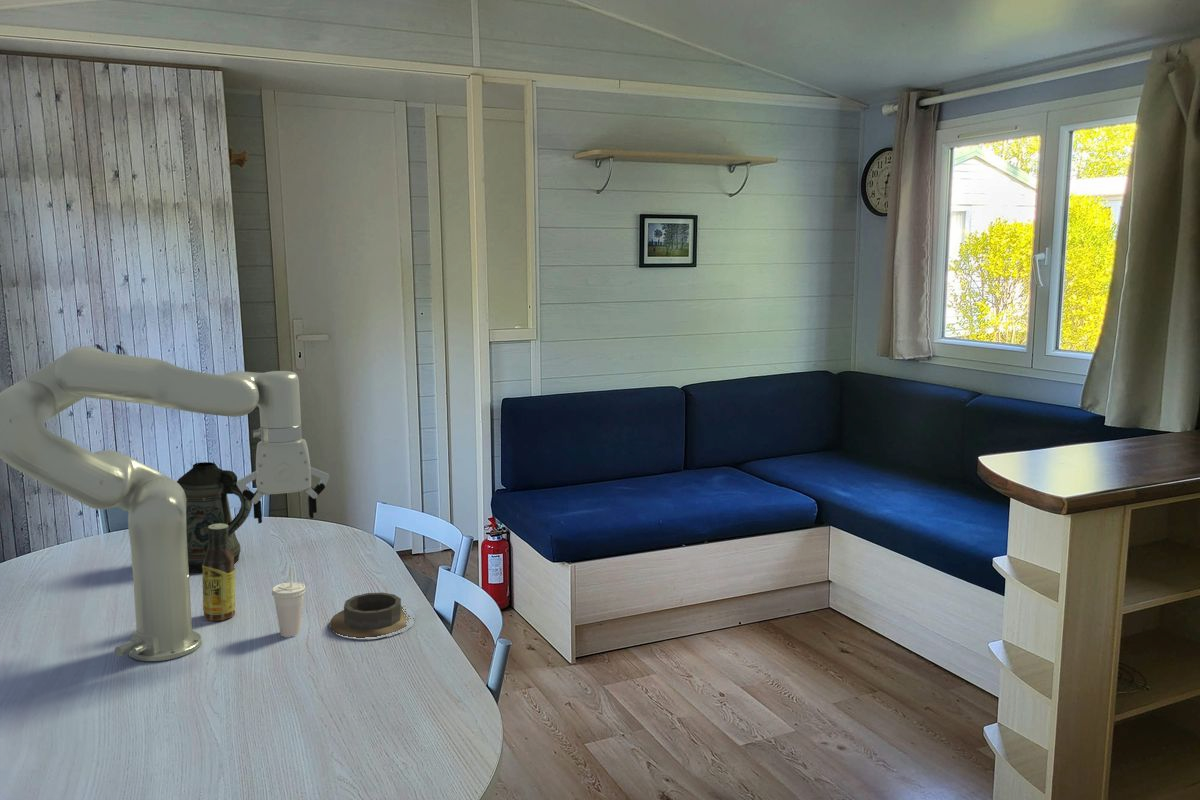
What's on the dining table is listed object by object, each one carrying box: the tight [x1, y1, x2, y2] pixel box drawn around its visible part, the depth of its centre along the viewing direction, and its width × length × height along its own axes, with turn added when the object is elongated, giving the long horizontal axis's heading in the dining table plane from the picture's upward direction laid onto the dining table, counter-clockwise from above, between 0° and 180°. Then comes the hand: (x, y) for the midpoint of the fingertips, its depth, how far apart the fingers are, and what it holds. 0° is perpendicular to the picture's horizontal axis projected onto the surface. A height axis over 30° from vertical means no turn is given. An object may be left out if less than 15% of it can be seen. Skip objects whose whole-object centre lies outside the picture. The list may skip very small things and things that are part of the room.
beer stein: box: [176, 461, 253, 574], centre depth 219 cm, size 16×19×25 cm
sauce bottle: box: [201, 523, 236, 622], centre depth 185 cm, size 6×6×20 cm
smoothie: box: [271, 566, 307, 638], centre depth 178 cm, size 6×6×14 cm
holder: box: [329, 591, 414, 638], centre depth 184 cm, size 17×17×4 cm
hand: (285, 519), depth 177 cm, fingers open, 9 cm apart
